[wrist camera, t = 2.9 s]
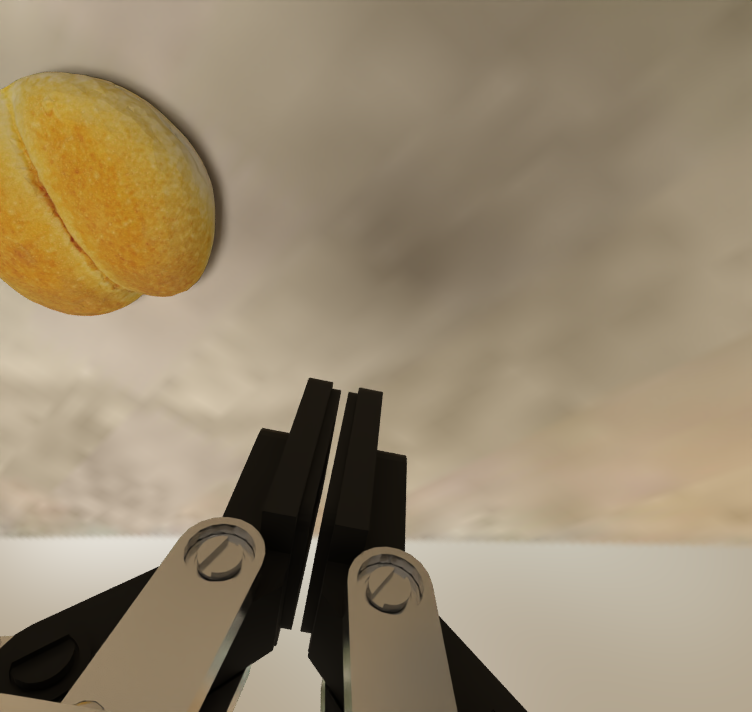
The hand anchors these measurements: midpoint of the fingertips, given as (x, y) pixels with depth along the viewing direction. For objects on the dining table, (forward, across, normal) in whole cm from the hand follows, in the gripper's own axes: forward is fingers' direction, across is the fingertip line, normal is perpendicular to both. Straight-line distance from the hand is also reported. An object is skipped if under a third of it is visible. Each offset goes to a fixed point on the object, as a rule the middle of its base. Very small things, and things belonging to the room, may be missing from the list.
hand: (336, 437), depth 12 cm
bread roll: (+11, +11, -1) cm, 15 cm away
